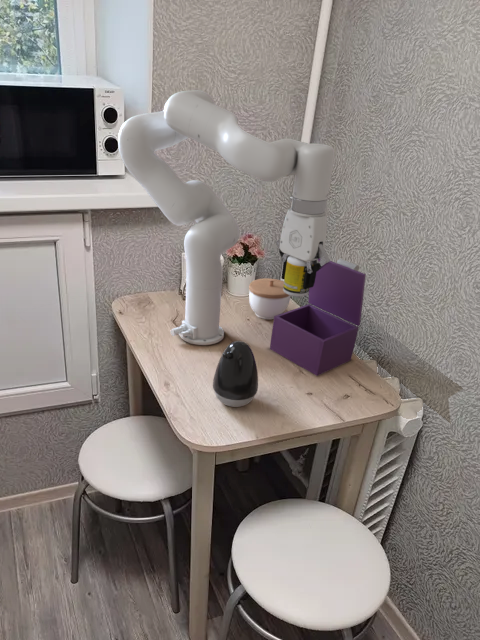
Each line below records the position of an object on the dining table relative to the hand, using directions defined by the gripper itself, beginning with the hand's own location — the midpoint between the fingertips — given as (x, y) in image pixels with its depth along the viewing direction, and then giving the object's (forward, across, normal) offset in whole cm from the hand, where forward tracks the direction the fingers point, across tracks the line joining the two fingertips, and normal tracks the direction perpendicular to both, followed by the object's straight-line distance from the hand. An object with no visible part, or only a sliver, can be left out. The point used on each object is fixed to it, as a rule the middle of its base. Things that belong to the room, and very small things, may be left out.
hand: (297, 282), depth 125 cm
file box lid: (+4, +2, +13) cm, 14 cm away
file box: (+22, +2, +8) cm, 23 cm away
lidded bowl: (+22, -23, +15) cm, 35 cm away
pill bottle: (+3, 0, 0) cm, 3 cm away
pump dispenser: (+22, +6, -23) cm, 32 cm away
